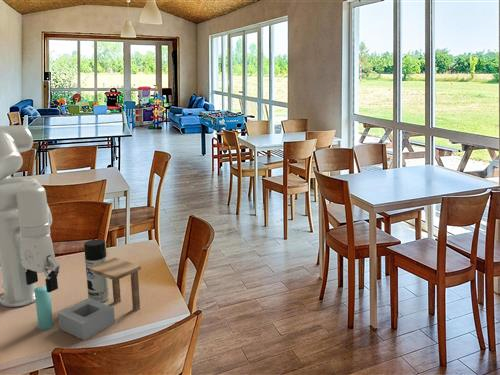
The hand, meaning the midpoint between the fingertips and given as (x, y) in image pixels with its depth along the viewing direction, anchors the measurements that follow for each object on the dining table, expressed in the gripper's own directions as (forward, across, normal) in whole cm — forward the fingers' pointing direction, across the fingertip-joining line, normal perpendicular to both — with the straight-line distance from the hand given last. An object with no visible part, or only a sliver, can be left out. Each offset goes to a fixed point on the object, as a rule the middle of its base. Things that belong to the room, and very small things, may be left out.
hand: (42, 286), depth 130 cm
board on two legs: (+13, +9, +19) cm, 25 cm away
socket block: (+13, +9, +7) cm, 17 cm away
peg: (+13, -1, 0) cm, 13 cm away
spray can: (+13, -2, +20) cm, 24 cm away
